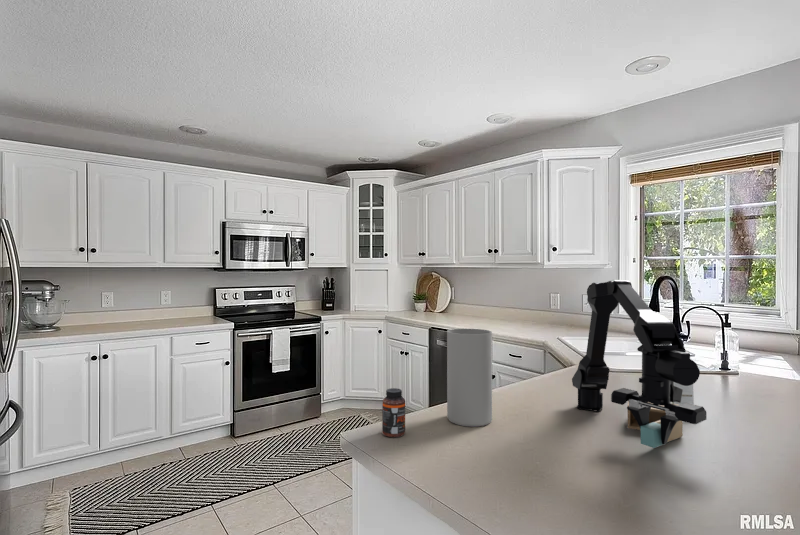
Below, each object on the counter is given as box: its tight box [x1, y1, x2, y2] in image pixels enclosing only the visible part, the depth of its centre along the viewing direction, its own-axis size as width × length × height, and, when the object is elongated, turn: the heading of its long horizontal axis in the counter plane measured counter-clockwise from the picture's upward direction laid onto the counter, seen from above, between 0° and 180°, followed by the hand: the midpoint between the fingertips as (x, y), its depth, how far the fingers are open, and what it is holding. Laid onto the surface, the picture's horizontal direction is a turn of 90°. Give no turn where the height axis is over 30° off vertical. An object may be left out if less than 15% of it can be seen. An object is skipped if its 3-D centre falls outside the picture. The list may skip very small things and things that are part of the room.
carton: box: [627, 401, 678, 431], centre depth 116 cm, size 12×8×6 cm, turn 60°
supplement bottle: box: [381, 387, 406, 438], centre depth 111 cm, size 6×6×11 cm
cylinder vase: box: [446, 328, 493, 428], centre depth 122 cm, size 12×12×25 cm
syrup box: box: [670, 382, 695, 405], centre depth 131 cm, size 6×6×14 cm
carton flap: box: [640, 420, 684, 449], centre depth 103 cm, size 18×3×6 cm, turn 121°
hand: (655, 441), depth 100 cm, fingers open, 3 cm apart
